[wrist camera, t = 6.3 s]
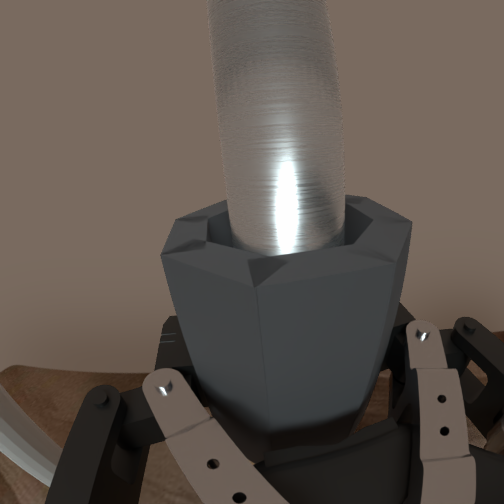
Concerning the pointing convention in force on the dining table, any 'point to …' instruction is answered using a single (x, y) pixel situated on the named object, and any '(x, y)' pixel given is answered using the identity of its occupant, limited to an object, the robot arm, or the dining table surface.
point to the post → (279, 124)
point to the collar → (287, 324)
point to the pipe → (26, 441)
